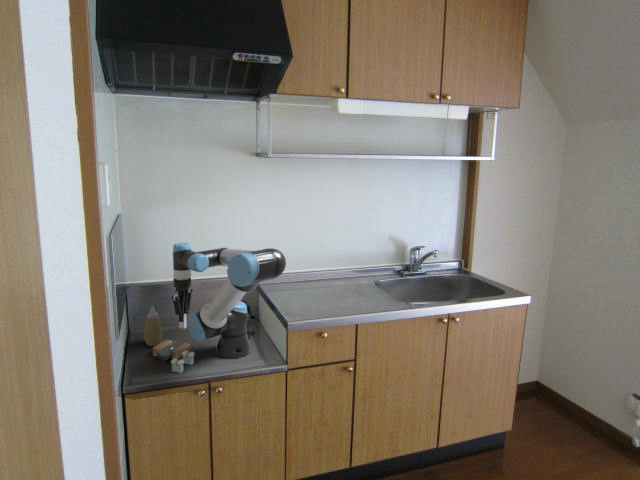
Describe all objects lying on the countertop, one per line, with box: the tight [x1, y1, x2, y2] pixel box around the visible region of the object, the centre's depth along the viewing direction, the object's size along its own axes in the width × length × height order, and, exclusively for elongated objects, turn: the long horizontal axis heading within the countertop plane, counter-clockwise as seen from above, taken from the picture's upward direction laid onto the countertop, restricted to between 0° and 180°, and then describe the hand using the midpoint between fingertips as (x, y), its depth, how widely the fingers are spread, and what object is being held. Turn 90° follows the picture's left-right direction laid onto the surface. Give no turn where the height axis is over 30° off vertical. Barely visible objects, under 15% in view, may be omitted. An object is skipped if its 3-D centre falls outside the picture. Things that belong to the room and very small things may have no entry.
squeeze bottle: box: [143, 305, 163, 347], centre depth 202 cm, size 8×8×18 cm
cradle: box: [170, 350, 195, 374], centre depth 183 cm, size 10×5×5 cm, turn 163°
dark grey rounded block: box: [156, 340, 183, 363], centre depth 193 cm, size 11×5×5 cm, turn 163°
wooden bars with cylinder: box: [152, 339, 191, 361], centre depth 195 cm, size 12×10×4 cm
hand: (182, 327), depth 202 cm, fingers closed
